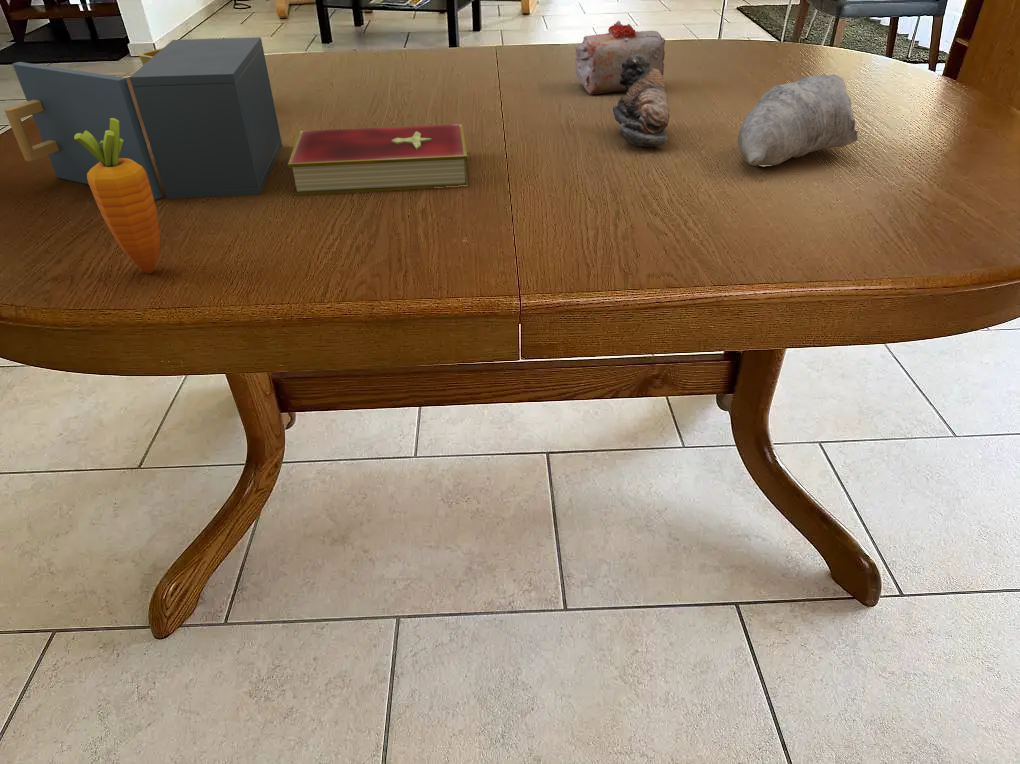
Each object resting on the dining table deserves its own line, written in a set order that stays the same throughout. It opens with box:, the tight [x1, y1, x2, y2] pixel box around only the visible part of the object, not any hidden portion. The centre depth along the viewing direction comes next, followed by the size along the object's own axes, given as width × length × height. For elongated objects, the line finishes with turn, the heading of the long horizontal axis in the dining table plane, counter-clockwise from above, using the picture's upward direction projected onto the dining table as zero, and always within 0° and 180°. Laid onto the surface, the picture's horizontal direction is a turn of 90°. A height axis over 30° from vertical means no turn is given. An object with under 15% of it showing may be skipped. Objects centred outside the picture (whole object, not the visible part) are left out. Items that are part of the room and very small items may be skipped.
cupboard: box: [129, 36, 283, 200], centre depth 91 cm, size 11×17×14 cm, turn 5°
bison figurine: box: [612, 52, 670, 148], centre depth 101 cm, size 12×7×10 cm, turn 9°
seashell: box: [737, 73, 859, 167], centre depth 94 cm, size 16×15×10 cm
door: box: [3, 61, 163, 201], centre depth 86 cm, size 5×17×14 cm, turn 65°
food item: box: [574, 20, 666, 95], centre depth 120 cm, size 14×8×10 cm, turn 101°
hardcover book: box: [287, 123, 469, 196], centre depth 93 cm, size 12×21×4 cm, turn 96°
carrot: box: [74, 118, 161, 275], centre depth 69 cm, size 5×5×15 cm
